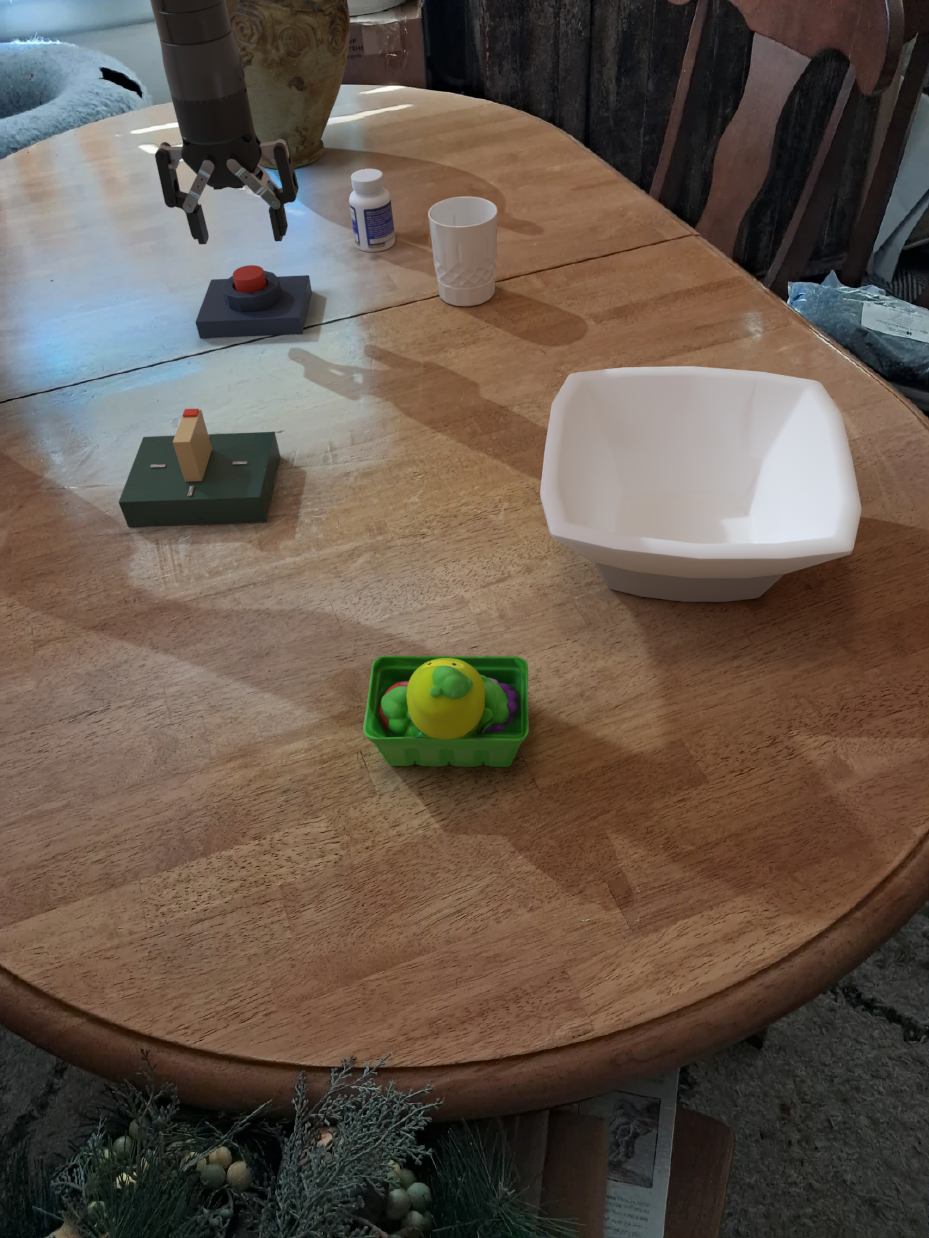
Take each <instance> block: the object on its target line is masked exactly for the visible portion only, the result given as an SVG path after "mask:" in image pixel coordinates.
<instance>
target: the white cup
mask: <svg viewBox="0 0 929 1238" xmlns="http://www.w3.org/2000/svg"><path fill="white" fill-rule="evenodd" d="M427 219H428V227H429V233H430V243H431V250H432V258H433V265H434V272H435V276H436V280H437V287H438V294H439V299H441V300H442V301H443V302H444V303H446V304H449V305H452V306H456V307H473V306H477V305H481V304H484V303H486V302H487V301H489V300H491V299H492V297H493V296H494V294H495V293H496V269H497V252H498V251H497V250H498V207H497V205H496V204H495V203H494V202H492V201H491V200H488V199H486V198H483V197H478V196H467V195H466V196H453V197H450V198H445V199H443V200H440V201H438V202H436V203H434V204H433V205H432V206H431V207H430V208H429V209H428V211H427Z"/></svg>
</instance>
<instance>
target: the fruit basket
mask: <svg viewBox="0 0 929 1238" xmlns="http://www.w3.org/2000/svg"><path fill="white" fill-rule="evenodd" d="M370 668H371V670H370V676H369V684H368V693H367V701H366V707H365V714H364V720H363V727H362V731H363V734H364V736H365V737H366V738H367V739H368V740H369V741H370V742H371V743H373V744H374V746H375V747H376V748H377V750H378V751H379V753H380V755H382V757H383V758H384V760H385V761H386V763H387V764H388V765H389V766H390V767H409V766H413V765H417V766H421V767H445V766H449V765H450V766H454V767H461V768H462V767H463V768H464V767H470V768H472V767H473V768H476V767H481V766H483V765H484V766H486V767H490V768H508V767H511V765H512V763H514V759H515V757H516V755H517V753H518V752H519V749H520V747H521V744H522V743H524V741H525V740H526V738H527V736H528V734H529V731H530V725H529V723H530V722H529V665H528V661H526V659H524V658H523V657H520V656H516V655H498V656H497V655H483V656H482V655H481V656H479V655H477V656H476V655H465V656H464V655H453V656H452V655H381V656H378V657H376V658H375V659H374V660H373V662H372V663H371V667H370Z"/></svg>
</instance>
